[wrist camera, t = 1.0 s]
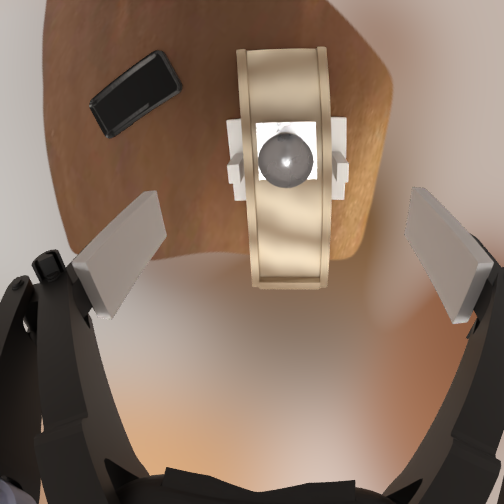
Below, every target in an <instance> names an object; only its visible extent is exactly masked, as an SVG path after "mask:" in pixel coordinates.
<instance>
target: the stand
mask: <svg viewBox="0 0 504 504" xmlns="http://www.w3.org/2000/svg"><path fill="white" fill-rule="evenodd" d="M226 121H227V131H228V141H229V150H230V159H231V160H230V162H229V163H228V164H227V169H228V178H229V184H233V187H234V196H235V201H239V200H246V188H245V176H244V159H243V144H242V129H241V118H240V119H228V120H226ZM331 138H332V168H333V174H332V200H344V193H345V182H348V173H349V163H348V161H347V160H346V117H331Z"/></svg>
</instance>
